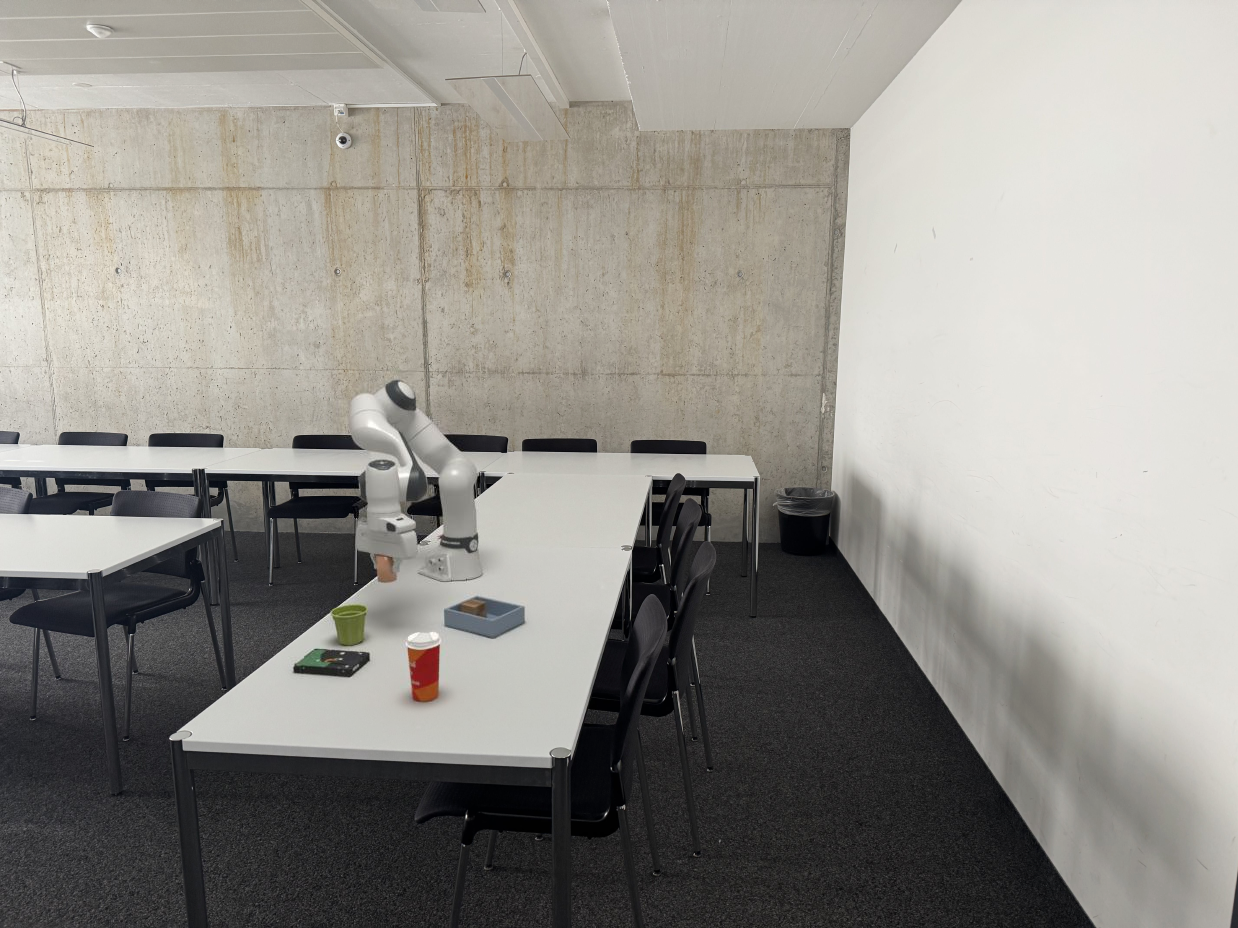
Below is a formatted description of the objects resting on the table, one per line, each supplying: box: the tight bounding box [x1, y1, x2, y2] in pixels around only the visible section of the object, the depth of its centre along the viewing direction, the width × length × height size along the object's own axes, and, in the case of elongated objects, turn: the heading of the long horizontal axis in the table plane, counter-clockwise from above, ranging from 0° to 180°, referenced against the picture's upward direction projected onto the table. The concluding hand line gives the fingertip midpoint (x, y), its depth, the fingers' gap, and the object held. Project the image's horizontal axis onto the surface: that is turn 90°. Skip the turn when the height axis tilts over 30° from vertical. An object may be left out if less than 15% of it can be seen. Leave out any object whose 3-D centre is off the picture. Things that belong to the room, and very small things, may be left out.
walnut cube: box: [461, 599, 487, 618], centre depth 220 cm, size 5×5×5 cm
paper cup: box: [405, 631, 442, 703], centre depth 174 cm, size 8×8×14 cm
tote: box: [443, 595, 526, 640], centre depth 218 cm, size 18×14×5 cm
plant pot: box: [329, 604, 369, 646], centre depth 206 cm, size 9×9×9 cm
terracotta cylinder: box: [376, 554, 398, 584], centre depth 212 cm, size 5×5×7 cm
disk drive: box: [292, 648, 371, 678], centre depth 190 cm, size 10×3×15 cm
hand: (386, 570), depth 212 cm, fingers closed on terracotta cylinder, 5 cm apart
